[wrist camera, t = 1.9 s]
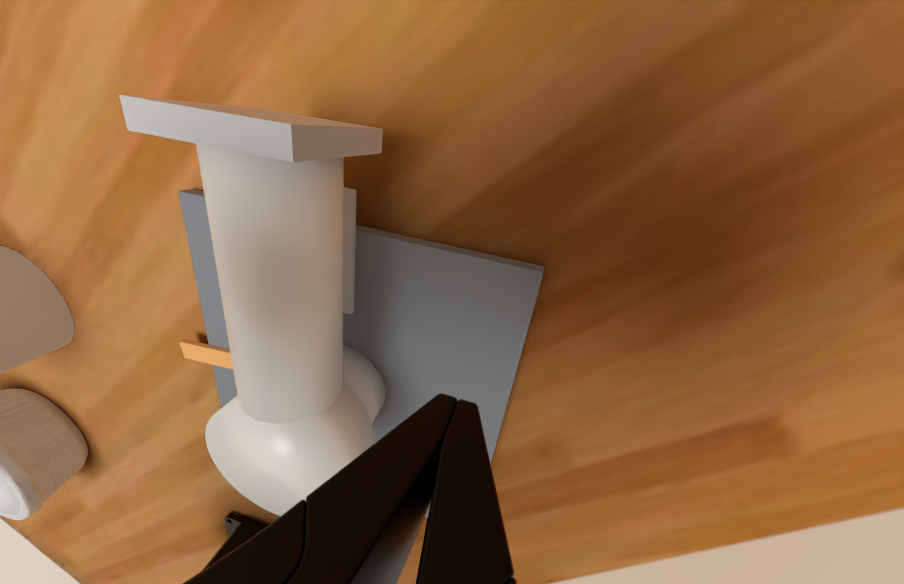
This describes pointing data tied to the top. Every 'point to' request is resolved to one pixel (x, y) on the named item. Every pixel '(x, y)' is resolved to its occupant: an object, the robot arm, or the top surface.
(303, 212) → the elbow
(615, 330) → the top surface
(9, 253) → the cup
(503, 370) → the grey square panel
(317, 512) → the robot arm
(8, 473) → the ramekin
